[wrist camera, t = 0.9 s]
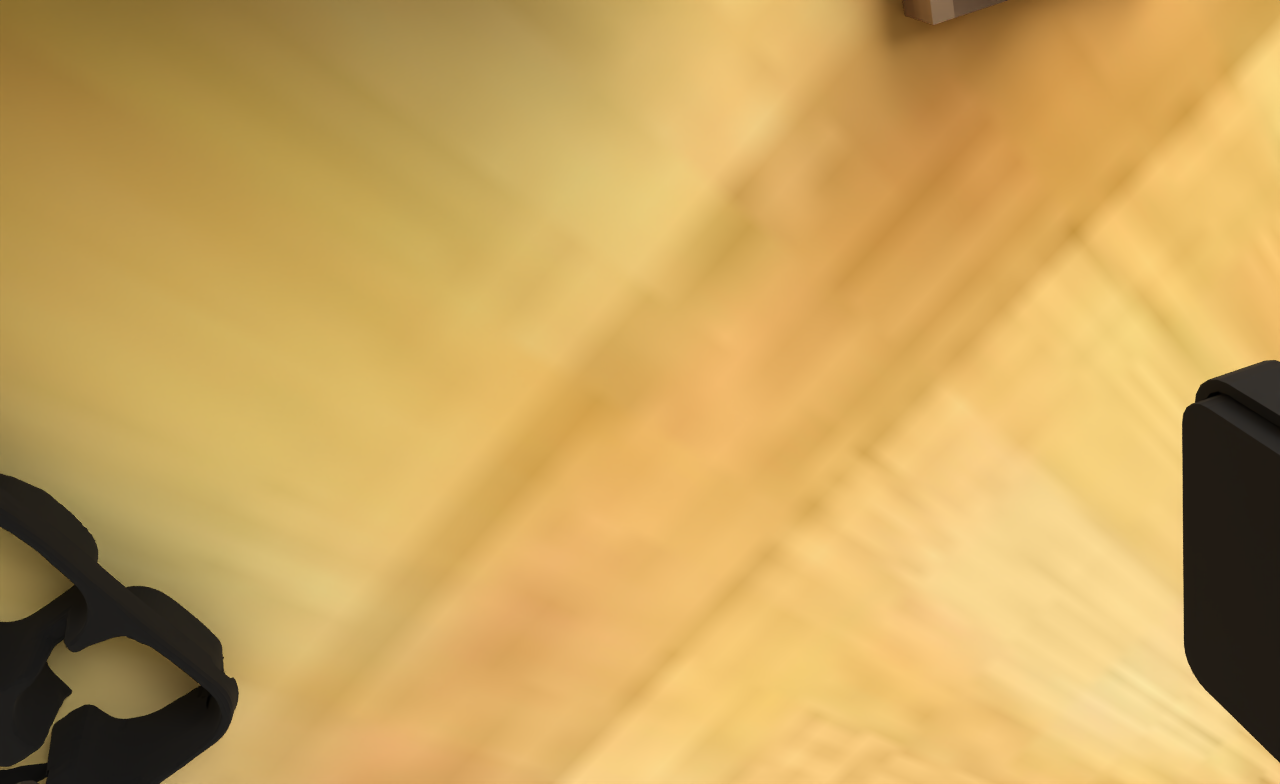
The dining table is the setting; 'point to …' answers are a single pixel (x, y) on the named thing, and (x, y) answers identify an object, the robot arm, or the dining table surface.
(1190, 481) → the robot arm
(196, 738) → the egg carton
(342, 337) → the dining table surface
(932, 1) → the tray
